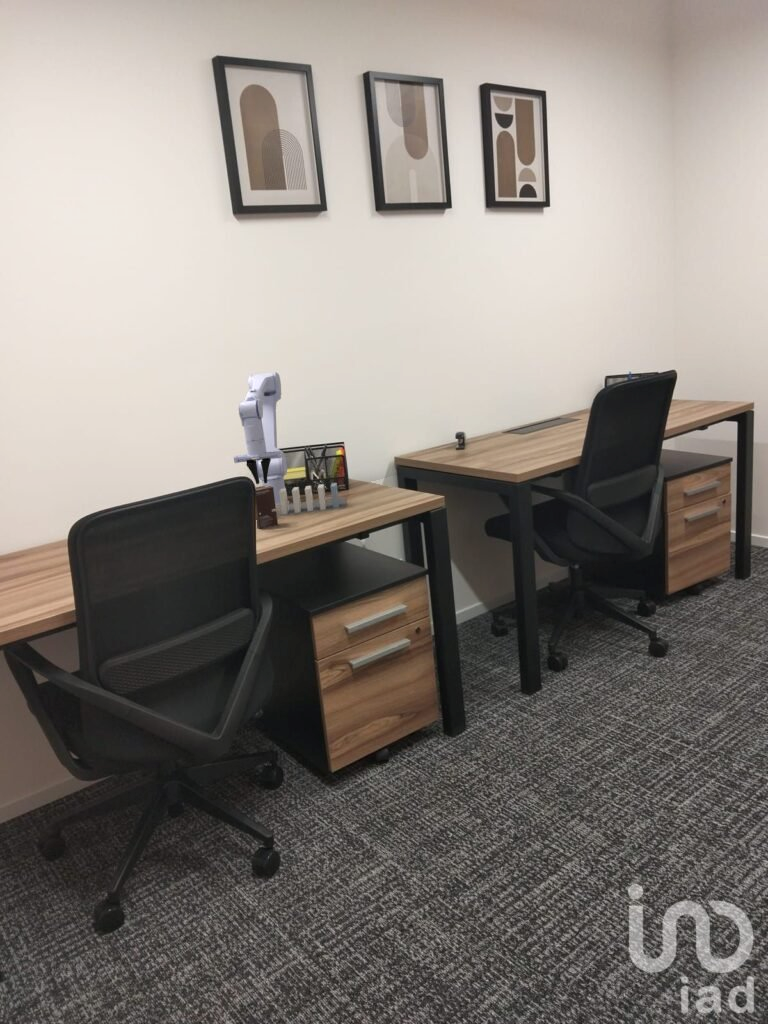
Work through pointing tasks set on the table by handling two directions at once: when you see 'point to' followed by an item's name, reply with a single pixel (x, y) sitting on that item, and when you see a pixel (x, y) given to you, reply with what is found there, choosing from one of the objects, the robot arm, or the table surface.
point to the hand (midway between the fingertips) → (261, 483)
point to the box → (265, 507)
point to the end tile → (334, 495)
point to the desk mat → (316, 507)
